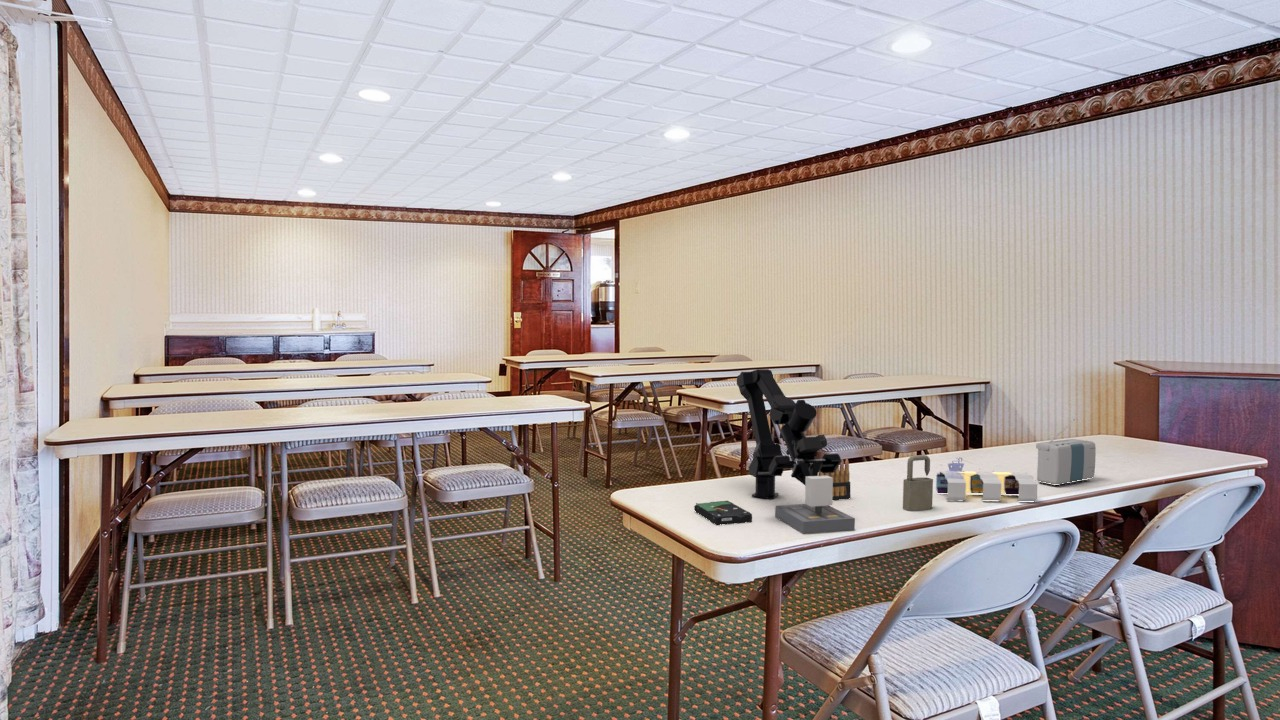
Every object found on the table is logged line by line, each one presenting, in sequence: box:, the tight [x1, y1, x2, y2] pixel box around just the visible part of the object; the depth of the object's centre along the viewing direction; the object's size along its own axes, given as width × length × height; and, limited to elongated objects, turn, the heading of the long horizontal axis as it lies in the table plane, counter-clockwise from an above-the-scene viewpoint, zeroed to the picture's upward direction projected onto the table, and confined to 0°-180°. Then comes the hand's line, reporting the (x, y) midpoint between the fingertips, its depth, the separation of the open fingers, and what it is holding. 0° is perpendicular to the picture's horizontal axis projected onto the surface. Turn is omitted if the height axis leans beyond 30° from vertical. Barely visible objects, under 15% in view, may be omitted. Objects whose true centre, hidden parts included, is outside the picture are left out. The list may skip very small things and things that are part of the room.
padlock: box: [902, 454, 934, 512], centre depth 206 cm, size 4×8×15 cm, turn 111°
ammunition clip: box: [818, 457, 852, 501], centre depth 216 cm, size 11×2×12 cm, turn 111°
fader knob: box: [804, 475, 833, 514], centre depth 188 cm, size 3×6×9 cm, turn 105°
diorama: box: [935, 457, 1038, 503], centre depth 218 cm, size 25×10×13 cm, turn 86°
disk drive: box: [693, 500, 753, 526], centre depth 197 cm, size 10×3×15 cm
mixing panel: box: [774, 503, 856, 535], centre depth 190 cm, size 16×14×3 cm
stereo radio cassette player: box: [1035, 418, 1097, 484], centre depth 241 cm, size 21×8×20 cm, turn 119°
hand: (815, 492), depth 189 cm, fingers closed, pressing on fader knob
